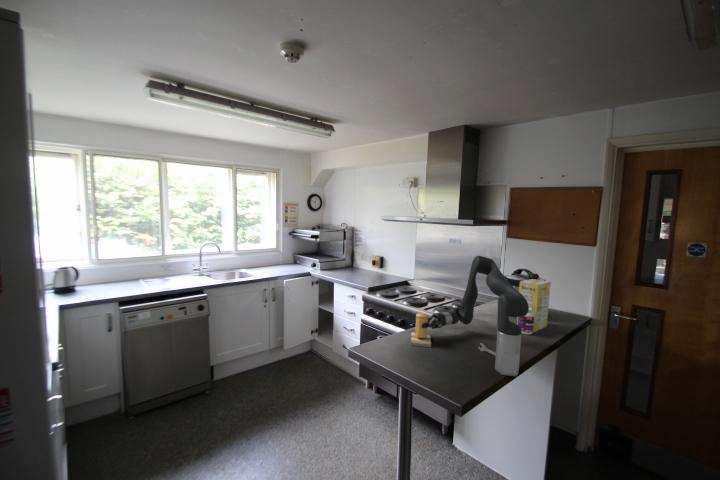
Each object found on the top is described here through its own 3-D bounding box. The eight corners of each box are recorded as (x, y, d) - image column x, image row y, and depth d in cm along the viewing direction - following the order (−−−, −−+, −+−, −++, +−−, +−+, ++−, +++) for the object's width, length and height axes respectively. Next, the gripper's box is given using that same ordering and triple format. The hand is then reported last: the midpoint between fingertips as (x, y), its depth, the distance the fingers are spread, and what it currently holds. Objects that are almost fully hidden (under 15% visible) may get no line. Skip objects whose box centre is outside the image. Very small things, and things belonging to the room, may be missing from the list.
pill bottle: (525, 335, 177) (527, 310, 176) (514, 330, 185) (515, 306, 184) (536, 334, 180) (538, 309, 179) (524, 329, 188) (525, 305, 187)
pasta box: (529, 321, 204) (532, 278, 202) (546, 326, 196) (550, 281, 194) (516, 326, 192) (519, 281, 190) (534, 332, 184) (538, 285, 182)
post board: (430, 347, 157) (431, 330, 156) (410, 345, 159) (411, 328, 158) (429, 336, 171) (430, 321, 170) (411, 335, 172) (411, 320, 172)
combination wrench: (516, 359, 139) (480, 341, 157) (514, 360, 139) (478, 342, 157) (515, 367, 140) (479, 349, 157) (513, 368, 139) (477, 349, 157)
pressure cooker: (503, 305, 241) (506, 264, 238) (546, 312, 225) (549, 268, 223) (495, 314, 216) (498, 269, 214) (542, 323, 200) (546, 274, 198)
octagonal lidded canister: (426, 338, 161) (427, 317, 160) (415, 337, 162) (416, 316, 161) (426, 333, 167) (427, 313, 166) (415, 332, 168) (416, 312, 167)
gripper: (432, 309, 177) (409, 312, 169) (452, 316, 165) (427, 321, 156) (432, 322, 178) (408, 326, 169) (451, 330, 165) (426, 335, 157)
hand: (418, 323), depth 163 cm, fingers closed on octagonal lidded canister, 6 cm apart
